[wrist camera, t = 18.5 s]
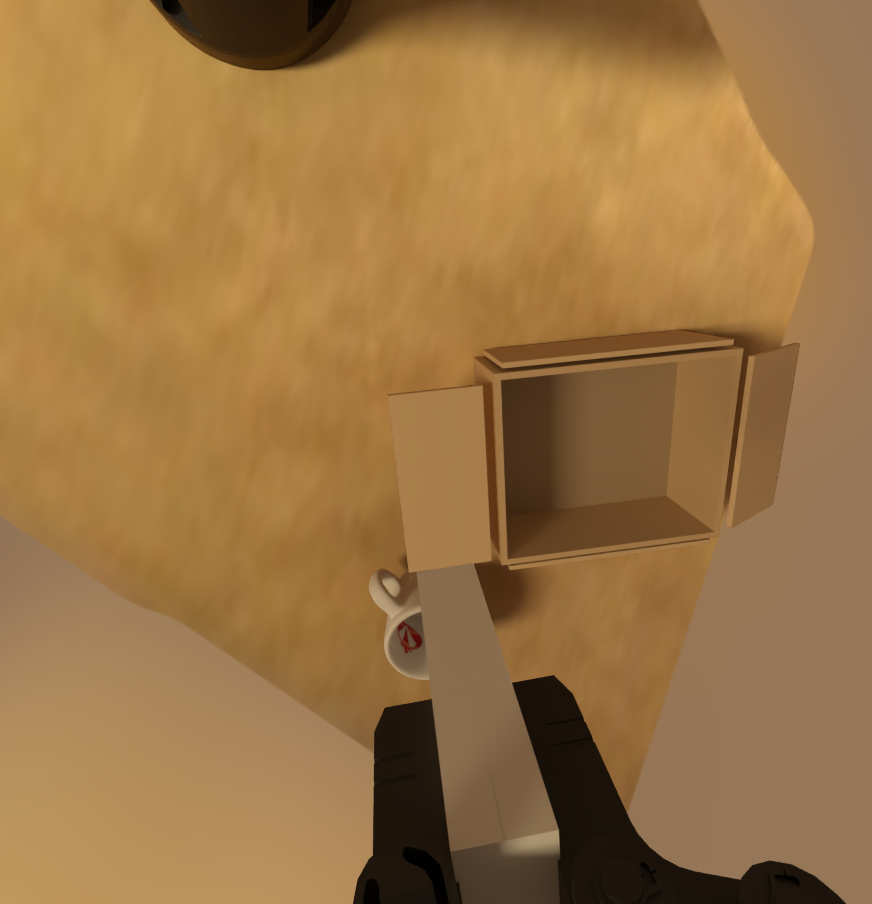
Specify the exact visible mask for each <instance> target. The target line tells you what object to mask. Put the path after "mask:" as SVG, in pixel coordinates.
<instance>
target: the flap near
mask: <svg viewBox="0 0 872 904" xmlns="http://www.w3.org/2000/svg"><path fill="white" fill-rule="evenodd" d="M388 400H389V409H390V417H391V426H392V434H393V443H394V451H395V460H396V468H397V477H398V485H399V494H400V502H401V511H402V519H403V528H404V536H405V545H406V553H407V562H408V570H409V573H411V572H418V571H425V570H432V569H439V568H445V567H451V566H457V565H463V564H469V563H481V562H488V561H491V542H490V522H489V502H488V482H487V463H486V443H485V423H484V403H483V385H481V384H480V385H470V386H461V387H452V388H443V389H434V390H425V391H415V392H406V393H397V394H388Z"/></svg>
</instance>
